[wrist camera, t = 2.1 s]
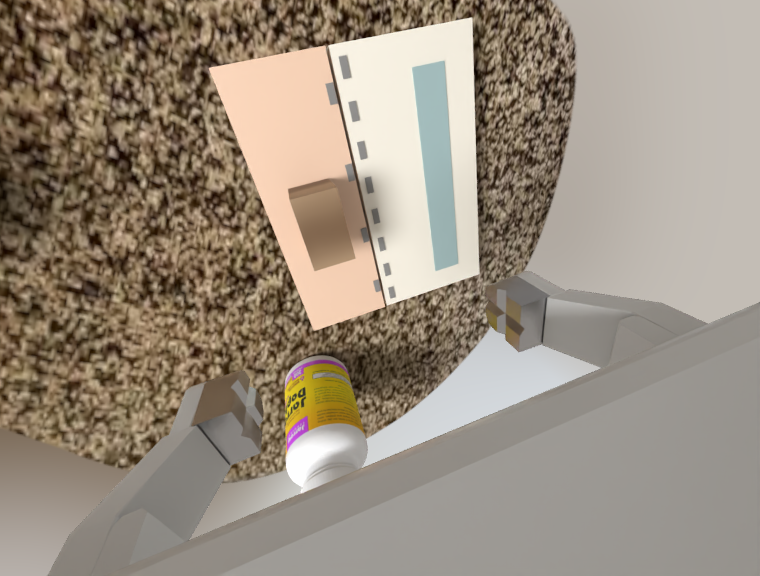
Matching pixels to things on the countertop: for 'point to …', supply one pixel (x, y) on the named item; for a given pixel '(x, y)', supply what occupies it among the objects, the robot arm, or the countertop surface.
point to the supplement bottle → (321, 423)
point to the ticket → (413, 152)
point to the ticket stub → (304, 178)
